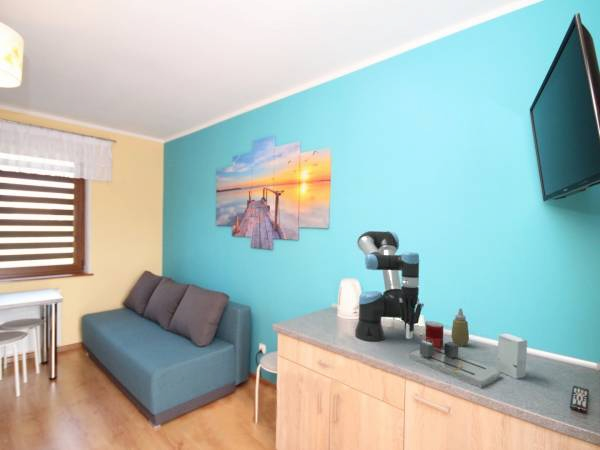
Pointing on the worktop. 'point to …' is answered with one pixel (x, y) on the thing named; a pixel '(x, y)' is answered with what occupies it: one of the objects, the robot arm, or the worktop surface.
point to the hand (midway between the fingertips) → (409, 337)
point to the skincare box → (511, 355)
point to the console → (458, 365)
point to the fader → (426, 348)
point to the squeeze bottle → (460, 329)
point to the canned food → (434, 333)
